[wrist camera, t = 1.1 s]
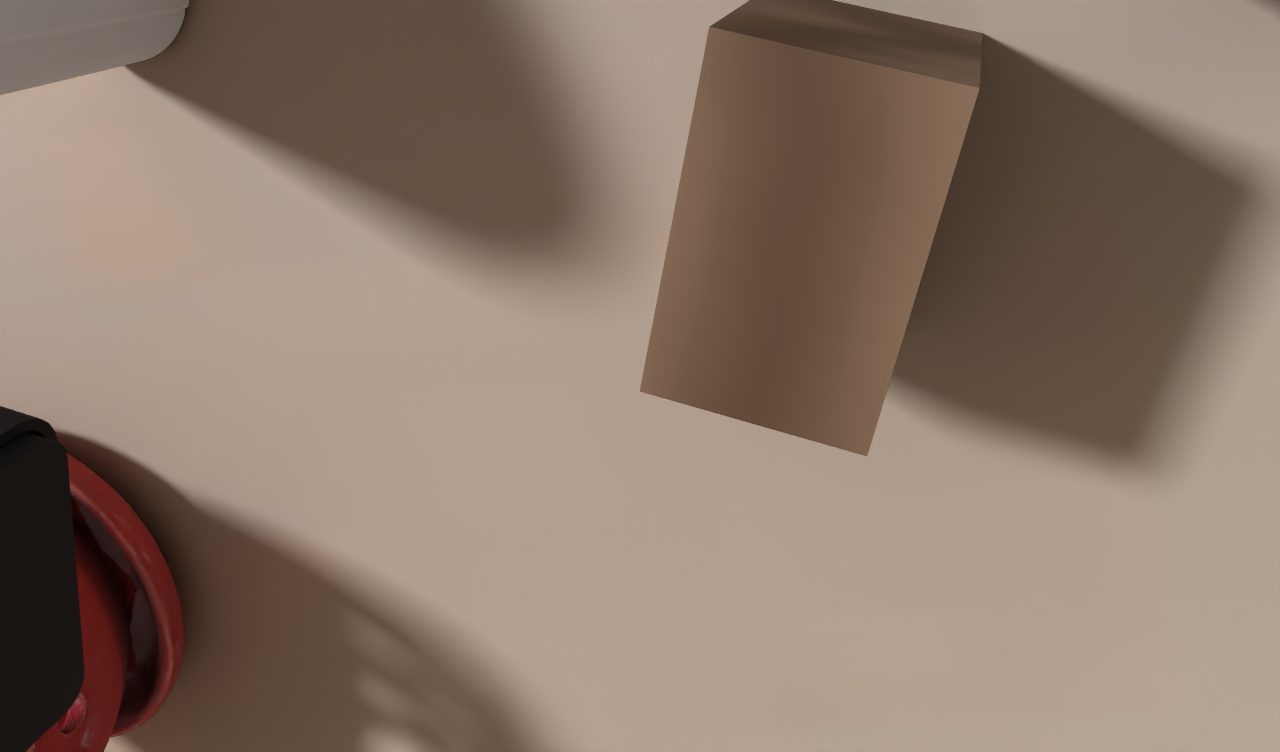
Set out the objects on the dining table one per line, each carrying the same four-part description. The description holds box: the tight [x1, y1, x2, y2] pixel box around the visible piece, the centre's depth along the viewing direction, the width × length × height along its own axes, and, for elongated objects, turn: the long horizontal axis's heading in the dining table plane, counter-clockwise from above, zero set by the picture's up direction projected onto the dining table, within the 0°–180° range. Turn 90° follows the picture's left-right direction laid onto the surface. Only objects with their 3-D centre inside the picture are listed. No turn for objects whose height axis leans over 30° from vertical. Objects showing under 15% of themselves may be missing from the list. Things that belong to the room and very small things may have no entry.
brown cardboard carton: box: [640, 0, 983, 456], centre depth 23 cm, size 4×7×6 cm, turn 170°
